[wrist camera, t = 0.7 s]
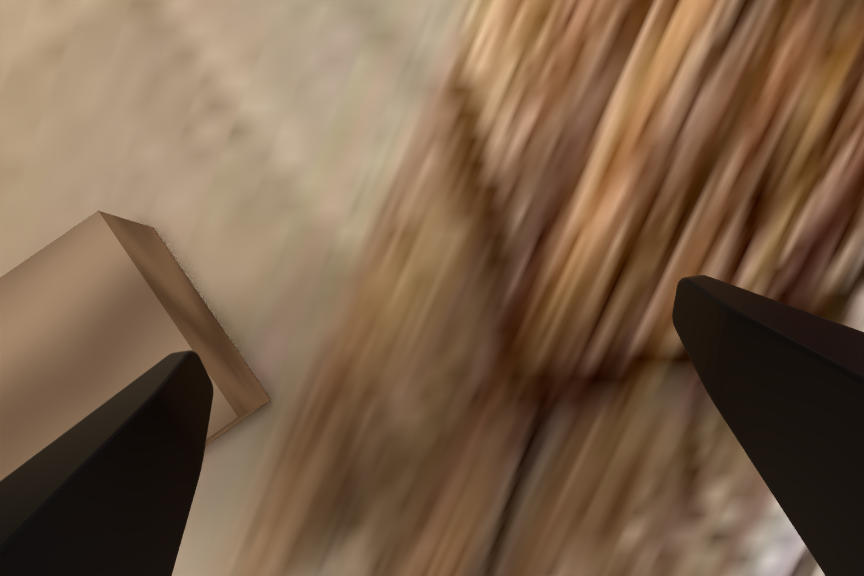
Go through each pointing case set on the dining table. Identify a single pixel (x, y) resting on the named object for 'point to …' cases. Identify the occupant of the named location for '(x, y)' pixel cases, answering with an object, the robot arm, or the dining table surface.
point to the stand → (103, 334)
